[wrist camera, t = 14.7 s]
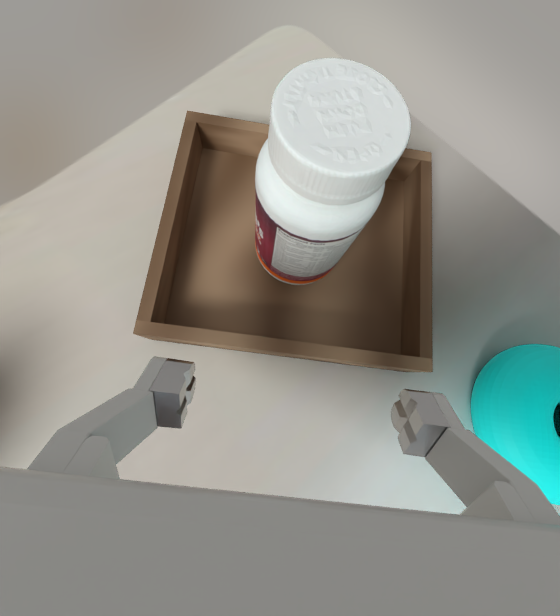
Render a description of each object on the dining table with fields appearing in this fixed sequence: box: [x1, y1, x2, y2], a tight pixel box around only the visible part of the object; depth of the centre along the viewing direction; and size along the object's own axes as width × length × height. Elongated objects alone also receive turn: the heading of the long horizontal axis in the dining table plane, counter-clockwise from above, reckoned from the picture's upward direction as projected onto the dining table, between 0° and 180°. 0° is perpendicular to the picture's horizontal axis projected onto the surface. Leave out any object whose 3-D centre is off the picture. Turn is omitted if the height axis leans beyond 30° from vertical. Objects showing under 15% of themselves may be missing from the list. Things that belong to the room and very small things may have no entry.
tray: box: [133, 111, 433, 372], centre depth 20 cm, size 18×16×3 cm
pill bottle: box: [255, 58, 411, 285], centre depth 15 cm, size 6×6×11 cm
